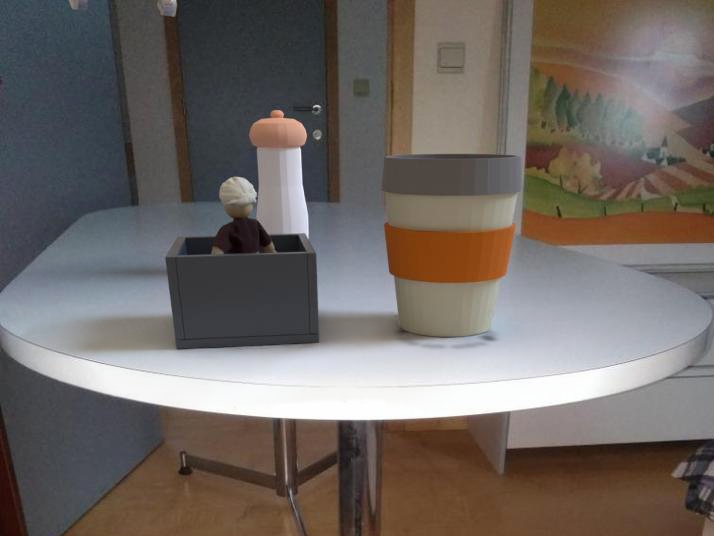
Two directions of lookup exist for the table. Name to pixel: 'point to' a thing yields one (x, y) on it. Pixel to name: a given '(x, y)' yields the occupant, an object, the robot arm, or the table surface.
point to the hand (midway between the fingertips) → (126, 7)
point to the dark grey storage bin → (243, 293)
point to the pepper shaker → (280, 174)
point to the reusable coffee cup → (449, 237)
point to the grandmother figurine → (240, 221)
